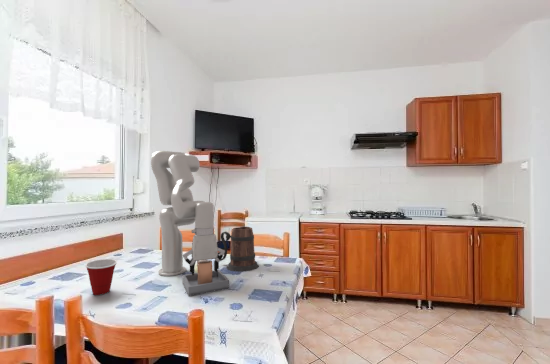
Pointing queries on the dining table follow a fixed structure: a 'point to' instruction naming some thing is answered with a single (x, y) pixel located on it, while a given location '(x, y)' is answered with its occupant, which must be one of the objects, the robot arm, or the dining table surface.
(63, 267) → the dining table surface
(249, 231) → the tankard
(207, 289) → the tray
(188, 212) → the robot arm
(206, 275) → the tan cylinder
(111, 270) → the plastic cup
